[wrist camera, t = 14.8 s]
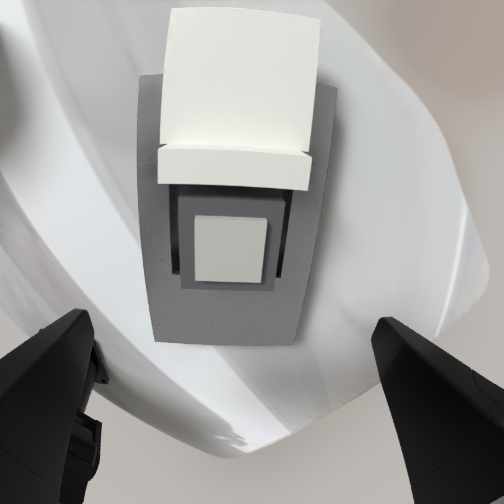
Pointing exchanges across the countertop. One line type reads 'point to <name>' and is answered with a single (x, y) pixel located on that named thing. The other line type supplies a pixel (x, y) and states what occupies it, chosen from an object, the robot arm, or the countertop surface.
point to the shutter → (238, 98)
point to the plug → (229, 237)
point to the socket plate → (225, 301)
